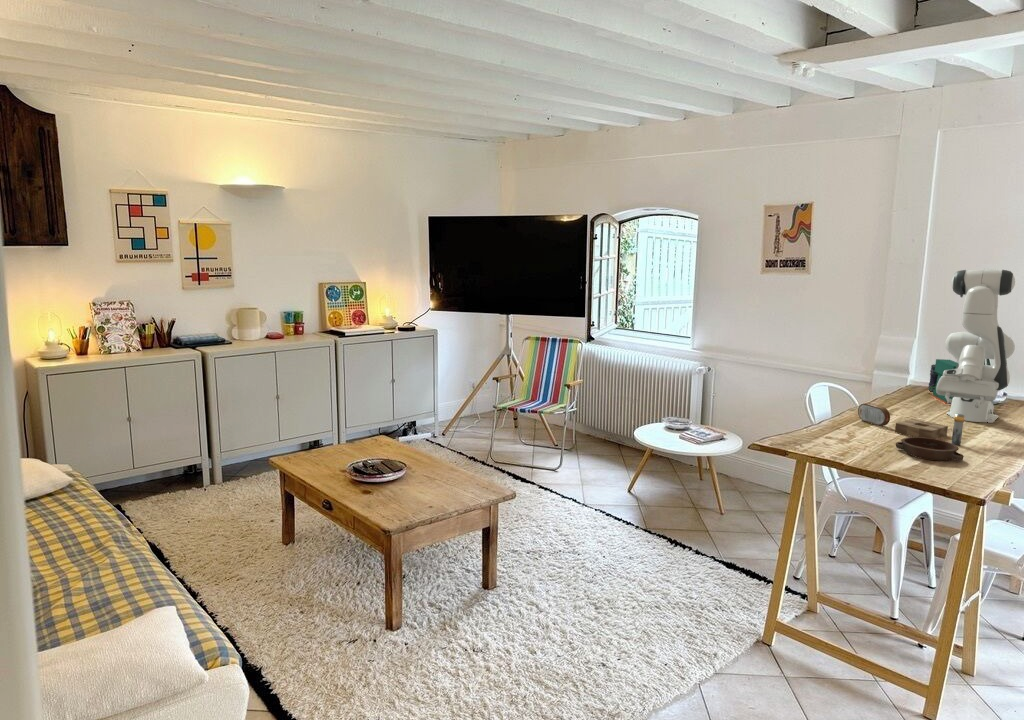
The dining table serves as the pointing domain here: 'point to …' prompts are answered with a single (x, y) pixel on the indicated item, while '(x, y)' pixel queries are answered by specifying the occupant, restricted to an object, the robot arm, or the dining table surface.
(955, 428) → the grey upright cylinder
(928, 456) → the dish
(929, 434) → the brown square frame
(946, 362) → the power tool
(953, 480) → the dining table surface
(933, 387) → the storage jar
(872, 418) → the tin
